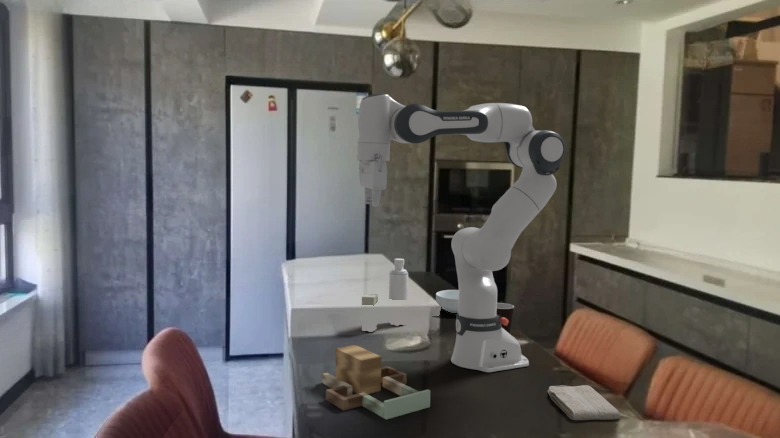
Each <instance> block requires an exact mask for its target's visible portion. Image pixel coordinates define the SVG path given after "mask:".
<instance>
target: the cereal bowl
mask: <svg viewBox="0 0 780 438" xmlns="http://www.w3.org/2000/svg"><path fill="white" fill-rule="evenodd" d="M435 301H436V304H437V303H438V304H440V305H441V307H442V308H441V309H442V310H444V311H446V312H447V311H448V312H451V313H458V302H459V289H446V290H440V291H437V292H436V293H435ZM438 304H437V305H438ZM448 312H447V313H448ZM451 313H450V314H451Z"/></svg>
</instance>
